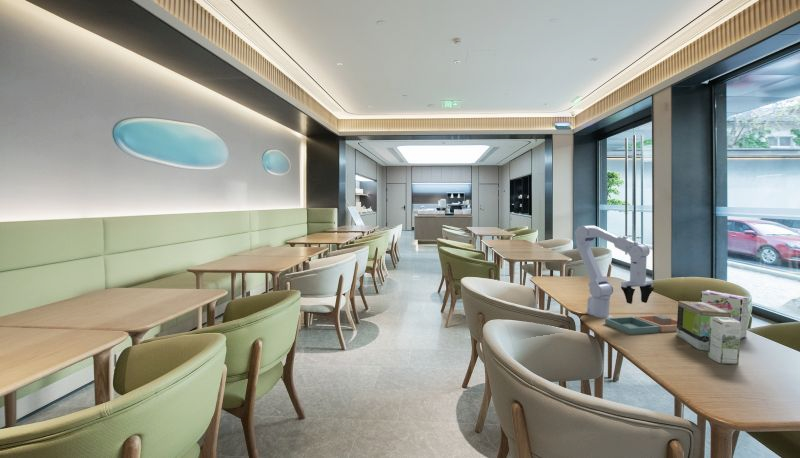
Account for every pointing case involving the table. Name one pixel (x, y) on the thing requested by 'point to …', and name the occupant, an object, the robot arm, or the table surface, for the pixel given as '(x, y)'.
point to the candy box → (729, 306)
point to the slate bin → (631, 325)
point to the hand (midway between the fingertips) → (636, 302)
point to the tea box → (697, 322)
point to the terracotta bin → (661, 328)
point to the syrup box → (724, 340)
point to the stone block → (661, 320)
